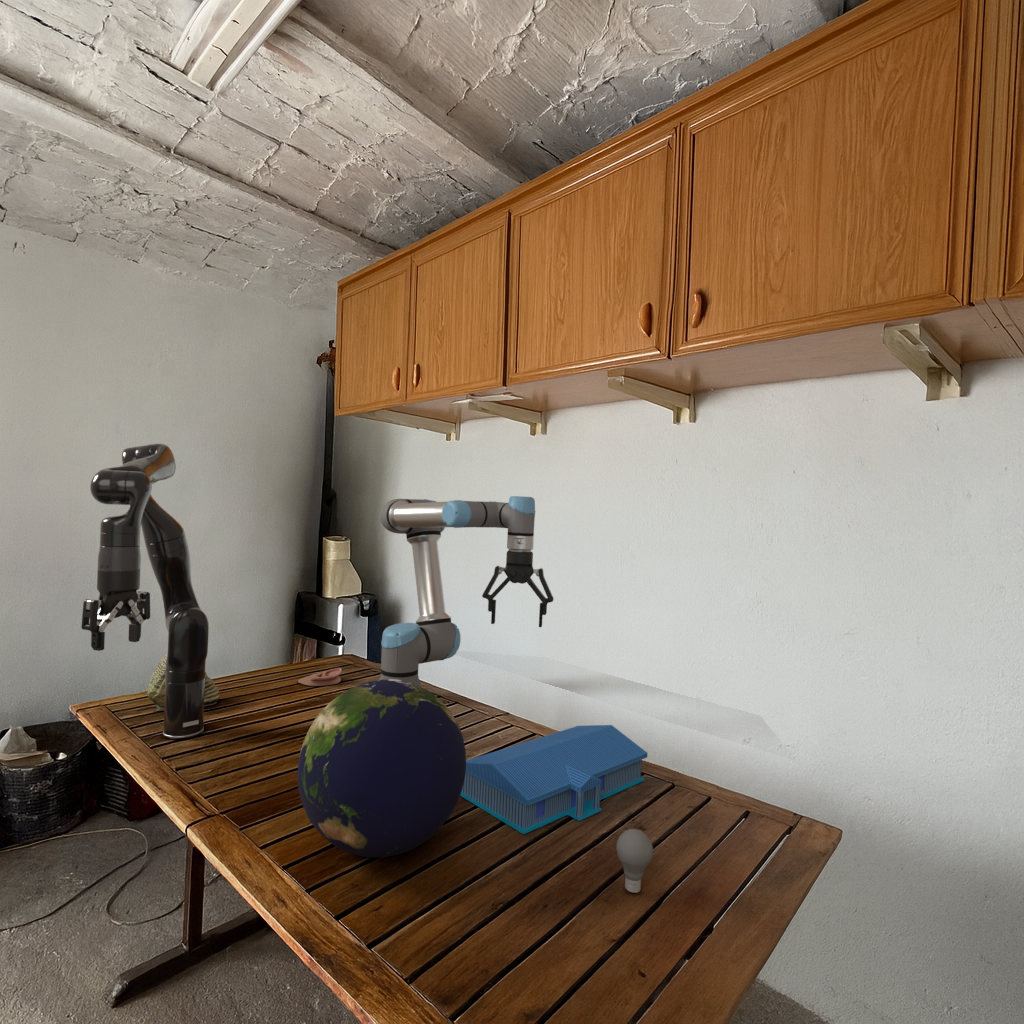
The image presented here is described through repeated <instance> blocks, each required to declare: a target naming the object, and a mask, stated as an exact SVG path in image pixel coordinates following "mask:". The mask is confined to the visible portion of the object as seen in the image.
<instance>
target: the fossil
mask: <svg viewBox="0 0 1024 1024" xmlns="http://www.w3.org/2000/svg"><path fill="white" fill-rule="evenodd" d="M166 658H167V654H165V655H164V656H163V657H162V658H161V659H160V660H159V662H158V663H157V666H156V667H155V669H154V670H153V672H152V675H151V677H150V680H149V684H148V688H147V697H148V699H149V700H150V701H152V703H153V704H154V706H155V711H158V712H159V711H162V712H163V711H164V705H165V674H166ZM220 698H221V696H220V690H219V688H218V686H217V685H216V683H215V682H214V681H213V679H212V678H211V677H209V675H208V674H207V672H206V671H205V693H204V707H207V706H213V705H215V704H217V703H218V701H219V699H220Z"/></svg>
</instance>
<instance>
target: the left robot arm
mask: <svg viewBox="0 0 1024 1024" xmlns="http://www.w3.org/2000/svg"><path fill="white" fill-rule="evenodd" d="M121 462H122V465H120V466H113V467H106V468H102V469H100V470H99V471H97V472H96V473H95V474H94V475H93V477H92V479H91V480H90V485H89V488H90V494H91V496H92V498H93V499H94V500H95V501H96V502H98V503H100V504H103V505H115V506H117V505H118V506H129V508H128V510H127V511H126V512H125V513H123V514H119V515H112V516H106V517H104V518H102V520H101V522H100V528H99V529H100V531H99V532H100V533H99V549H98V555H97V573H96V574H97V577H96V590H97V591H98V593H99V596H98V598H97V599H88V598H86V599H84V601H83V603H82V604H83V606H82V617H81V625H80V626H81V627H80V628H81V630H82V631H83V630H85V631H89V632H90V636H91V637H90V638H91V639H90V646H91V648H92V650H93V651H98V652H101V651H104V650H105V637H106V632H105V630H106V628H107V627H108V624H111V623H112V622H113V620H114V619H117V618H120V617H126V618H127V620H128V621H129V624H128V642H131V643H139V642H140V639H141V637H142V624H143V623H144V621H146V620H150V618H151V593H150V592H149V591H142V590H141V591H139V589H140V587H141V561H142V558H141V557H142V556H141V548H140V546H141V533H142V536H143V540H144V544H145V548H146V552H147V556H148V560H149V562H150V566H151V569H152V571H153V575H154V577H155V579H156V582H157V584H158V586H159V590H160V592H161V596H162V597H161V598H162V602H163V603H162V604H163V608H164V619H165V628H166V630H167V633H168V635H167V636H168V637H167V653H166V655H167V658H166V674H165V705H164V710H163V731H162V737H164V738H166V739H169V740H185V739H190V738H191V739H192V738H194V737H197V736H199V735H202V734H203V732H204V730H205V729H204V722H205V721H204V718H205V706H204V693H205V672H206V664H207V663H206V662H207V658H208V653H209V652H208V651H209V633H210V626H209V625H210V624H209V619H208V618H209V617H208V616H207V615H206V613H205V612H204V611H203V610H202V609H201V607H200V605H199V602H198V600H197V596H196V594H195V590H194V587H193V585H192V584H193V583H192V570H191V569H192V566H191V556H190V548H189V545H188V540H187V537H186V533H185V530H184V527H183V526H182V525H181V524H180V523H179V522H178V521H177V520H176V519H175V518H174V517H173V515H171V514H170V513H168V511H166V510H165V509H164V508H162V506H160V505H159V503H157V501H156V500H155V499H154V497H153V496H152V494H151V493H152V488H153V486H152V485H154V484H155V483H157V482H159V481H160V482H161V481H164V480H168V479H170V478H172V477H173V476H174V475H175V473H176V470H177V469H176V467H177V466H176V459H175V456H174V453H173V450H172V449H171V447H169V446H168V445H167V444H165V443H152V444H151V443H150V444H144V445H138V446H131V447H127V448H124V449H123V451H122V452H121ZM141 531H142V532H141Z"/></svg>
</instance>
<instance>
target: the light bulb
mask: <svg viewBox="0 0 1024 1024" xmlns="http://www.w3.org/2000/svg"><path fill="white" fill-rule="evenodd" d="M615 849H616V854H617V857H618V859H619V861H620V863H621V865H622V867H623V873H624V874H623V875H624V876H625V878H624V888H625V890H627V891H628V892H630V893H634V894H635V893H639V892H640V891H641V889H642V887H641V886H642V879H643V877H644V875H645V871H646V868H647V867H648V866H649V864H650V863H651V861H652V859H653V855H654V847H653V843H652V841H651V838H649V836H648V835H647V834H646V833H645V832H643V831H642V830H641V829H636V828H629V829H627V830H625V831H623V832H622V833H621V834H620V835H619V837H618V839H617V841H616V847H615Z"/></svg>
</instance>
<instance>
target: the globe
mask: <svg viewBox="0 0 1024 1024" xmlns="http://www.w3.org/2000/svg"><path fill="white" fill-rule="evenodd" d="M466 760H467V753H466V746H465V741H464V737H463V733H462V730H461V728H460V726H459V723H458V721H457V719H456V718H455V716H454V714H453V713H452V711H451V710H450V709H449V708H448V706H447V705H446V704H445V703H444V702H443V701H442V700H441V699H440V698H439V697H438V696H436V695H435V694H434V693H432V692H431V691H430V690H428V689H427V688H425V687H422V686H421V687H420V686H418V685H416V684H413V683H410V682H406V681H402V680H396V679H387V680H379V679H377V680H376V679H375V680H370V681H366V682H363V683H360V684H358V685H355V686H353V687H351V688H349V689H347V690H345V691H344V692H342V693H341V694H340V693H339V695H337V696H336V697H335V698H334V699H332V700H331V701H330V702H329V703H328V704H327V705H326V706H325V707H324V708H322V710H321V711H320V712H319V713H318V715H317V716H316V717H315V719H314V720H313V722H312V723H311V725H310V727H309V729H308V731H307V733H306V735H305V738H304V740H303V742H302V745H301V749H300V752H299V758H298V763H297V764H298V765H297V766H298V767H297V786H298V793H299V797H300V800H301V801H300V802H301V804H302V807H303V809H304V811H305V814H306V816H307V818H308V820H309V822H310V823H311V824H312V826H313V827H314V829H315V830H316V831H317V833H318V834H320V835H321V836H322V837H323V839H325V840H326V841H327V842H328V843H330V844H331V845H333V846H335V847H336V848H338V849H339V850H341V851H343V852H346V853H348V854H351V855H354V856H358V857H363V858H387V857H393V856H397V855H401V854H404V853H406V852H410V851H411V850H413V849H415V848H417V847H419V846H420V845H422V844H423V843H425V842H427V840H429V839H430V838H432V837H433V836H434V835H435V834H436V833H437V832H438V831H439V830H440V829H441V828H442V827H443V826H444V824H446V822H447V821H448V819H449V818H450V816H451V814H452V813H453V811H454V809H455V808H456V806H457V804H458V801H459V799H460V797H461V796H460V794H461V791H462V788H463V784H464V779H465V773H466Z"/></svg>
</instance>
